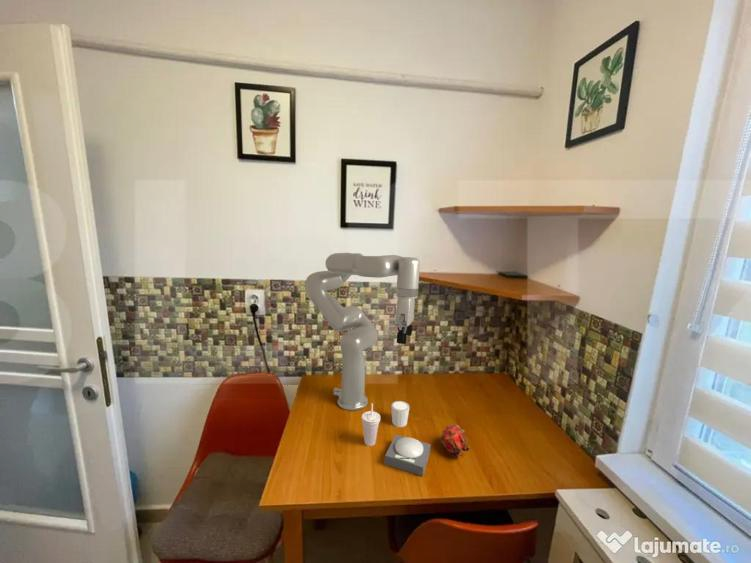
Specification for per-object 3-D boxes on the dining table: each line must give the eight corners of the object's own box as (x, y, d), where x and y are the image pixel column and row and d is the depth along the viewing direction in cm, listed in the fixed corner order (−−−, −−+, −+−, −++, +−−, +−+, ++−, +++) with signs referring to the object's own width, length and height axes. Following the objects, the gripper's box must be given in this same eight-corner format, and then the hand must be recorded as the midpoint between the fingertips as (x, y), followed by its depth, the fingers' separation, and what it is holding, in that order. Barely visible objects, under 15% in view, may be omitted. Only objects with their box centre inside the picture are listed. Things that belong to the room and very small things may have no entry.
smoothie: (381, 438, 108) (383, 401, 106) (375, 450, 102) (377, 411, 100) (364, 434, 110) (366, 397, 108) (357, 445, 104) (359, 407, 102)
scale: (384, 464, 96) (385, 453, 96) (395, 442, 107) (395, 432, 106) (422, 476, 92) (423, 465, 92) (430, 452, 102) (430, 442, 102)
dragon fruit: (451, 440, 111) (457, 470, 100) (433, 428, 110) (437, 456, 99) (468, 426, 109) (476, 455, 97) (449, 413, 108) (455, 440, 96)
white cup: (389, 417, 121) (390, 400, 120) (406, 417, 122) (407, 400, 120) (391, 428, 114) (392, 410, 113) (410, 428, 115) (411, 410, 114)
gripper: (402, 287, 119) (399, 330, 121) (390, 295, 102) (387, 345, 105) (421, 289, 116) (419, 333, 119) (412, 298, 100) (409, 348, 103)
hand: (404, 339), depth 112 cm, fingers open, 9 cm apart
